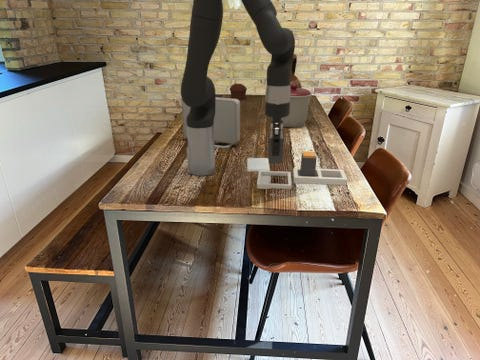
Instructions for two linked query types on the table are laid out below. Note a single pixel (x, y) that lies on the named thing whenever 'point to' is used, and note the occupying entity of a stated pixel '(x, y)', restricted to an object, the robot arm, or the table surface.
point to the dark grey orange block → (308, 164)
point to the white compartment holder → (321, 177)
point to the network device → (221, 121)
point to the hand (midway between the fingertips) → (275, 152)
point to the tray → (265, 180)
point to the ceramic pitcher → (293, 78)
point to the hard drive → (257, 164)
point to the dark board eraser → (279, 158)
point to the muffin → (238, 91)
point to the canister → (297, 107)
